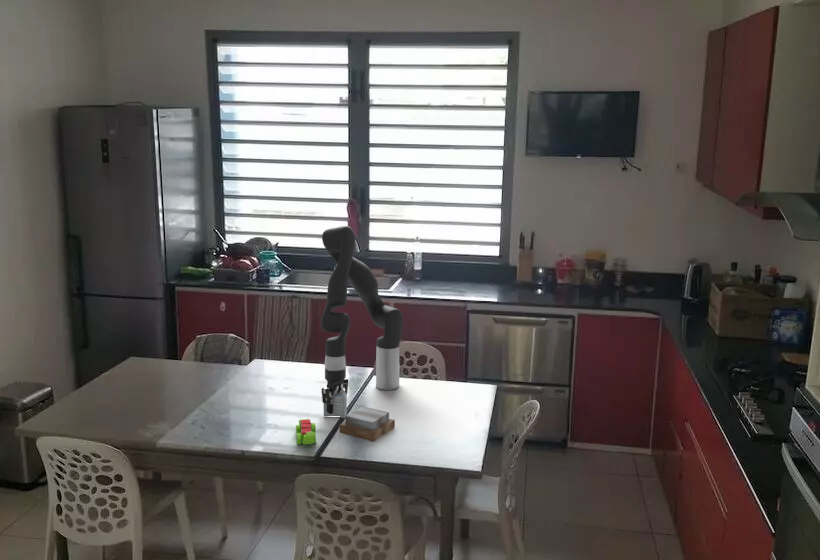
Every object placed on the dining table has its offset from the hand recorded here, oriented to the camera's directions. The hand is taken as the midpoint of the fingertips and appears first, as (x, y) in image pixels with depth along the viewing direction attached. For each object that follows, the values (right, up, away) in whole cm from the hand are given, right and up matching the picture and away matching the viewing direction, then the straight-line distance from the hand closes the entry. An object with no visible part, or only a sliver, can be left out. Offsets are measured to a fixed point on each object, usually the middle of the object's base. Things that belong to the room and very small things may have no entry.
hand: (335, 410), depth 281 cm
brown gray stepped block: (+12, -5, -12) cm, 18 cm away
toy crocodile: (-8, -7, -20) cm, 22 cm away
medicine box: (0, -2, 0) cm, 2 cm away
